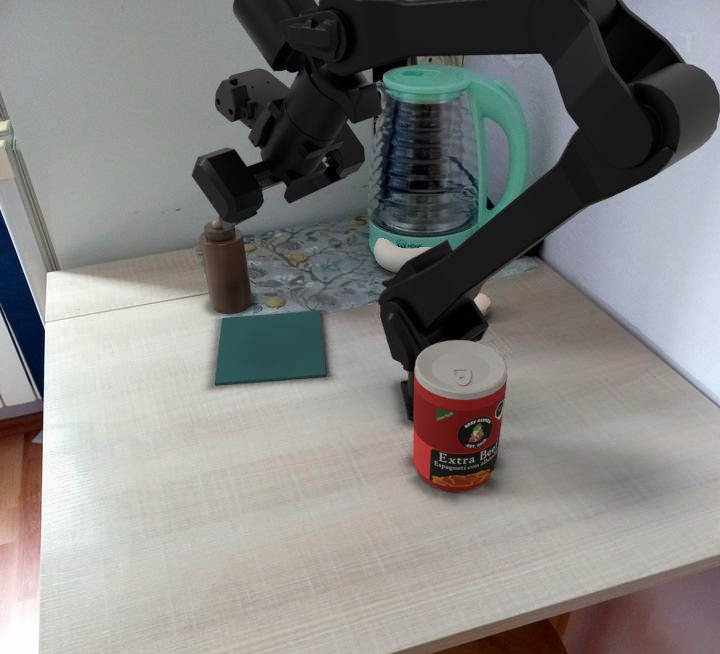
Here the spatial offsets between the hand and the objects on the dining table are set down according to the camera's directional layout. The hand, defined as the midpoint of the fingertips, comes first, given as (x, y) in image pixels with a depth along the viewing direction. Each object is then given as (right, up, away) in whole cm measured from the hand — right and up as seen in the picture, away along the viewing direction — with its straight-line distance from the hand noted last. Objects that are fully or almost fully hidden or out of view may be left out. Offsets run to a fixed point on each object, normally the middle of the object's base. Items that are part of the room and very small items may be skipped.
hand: (256, 212), depth 77 cm
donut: (+18, 0, +20) cm, 27 cm away
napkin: (+1, -14, +4) cm, 15 cm away
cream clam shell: (+25, -10, +9) cm, 28 cm away
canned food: (+20, -28, -12) cm, 36 cm away
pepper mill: (-5, -7, +12) cm, 15 cm away
